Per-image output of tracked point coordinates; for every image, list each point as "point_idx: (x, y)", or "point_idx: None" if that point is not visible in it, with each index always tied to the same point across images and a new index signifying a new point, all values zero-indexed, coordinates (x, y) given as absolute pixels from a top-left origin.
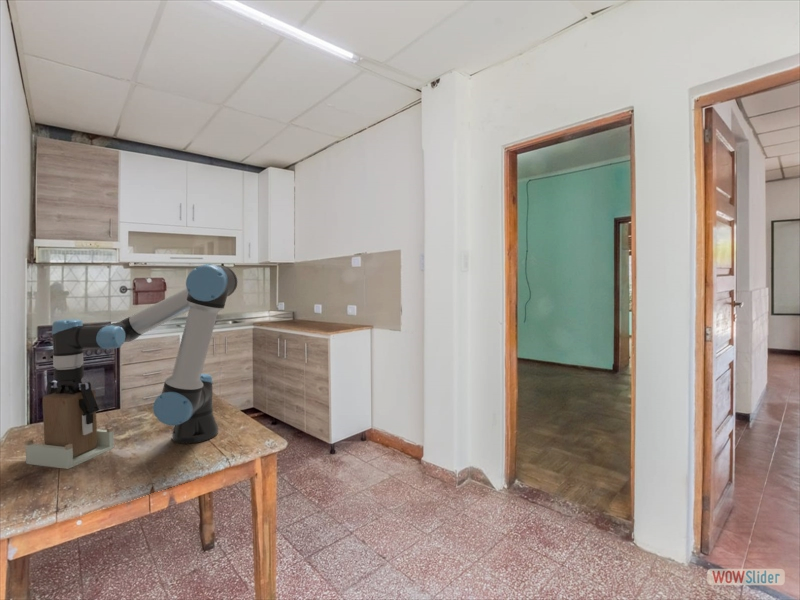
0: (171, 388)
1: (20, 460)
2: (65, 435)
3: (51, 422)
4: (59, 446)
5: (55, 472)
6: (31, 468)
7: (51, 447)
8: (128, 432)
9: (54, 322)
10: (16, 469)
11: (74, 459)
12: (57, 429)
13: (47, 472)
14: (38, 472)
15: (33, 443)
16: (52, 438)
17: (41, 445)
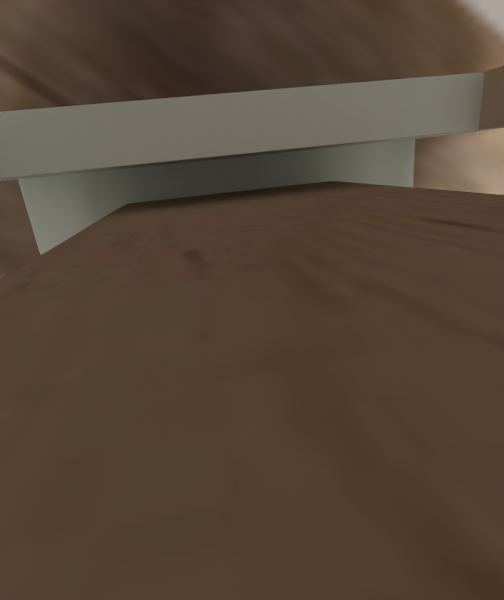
0: None
1: (489, 131)
2: (82, 235)
3: (437, 230)
4: (129, 162)
5: (44, 62)
6: (295, 58)
7: (183, 110)
8: None
9: None
10: (382, 10)
11: None
12: (237, 227)
13: (105, 42)
14: (172, 20)
15: (475, 129)
16: (305, 200)
17: (347, 116)
